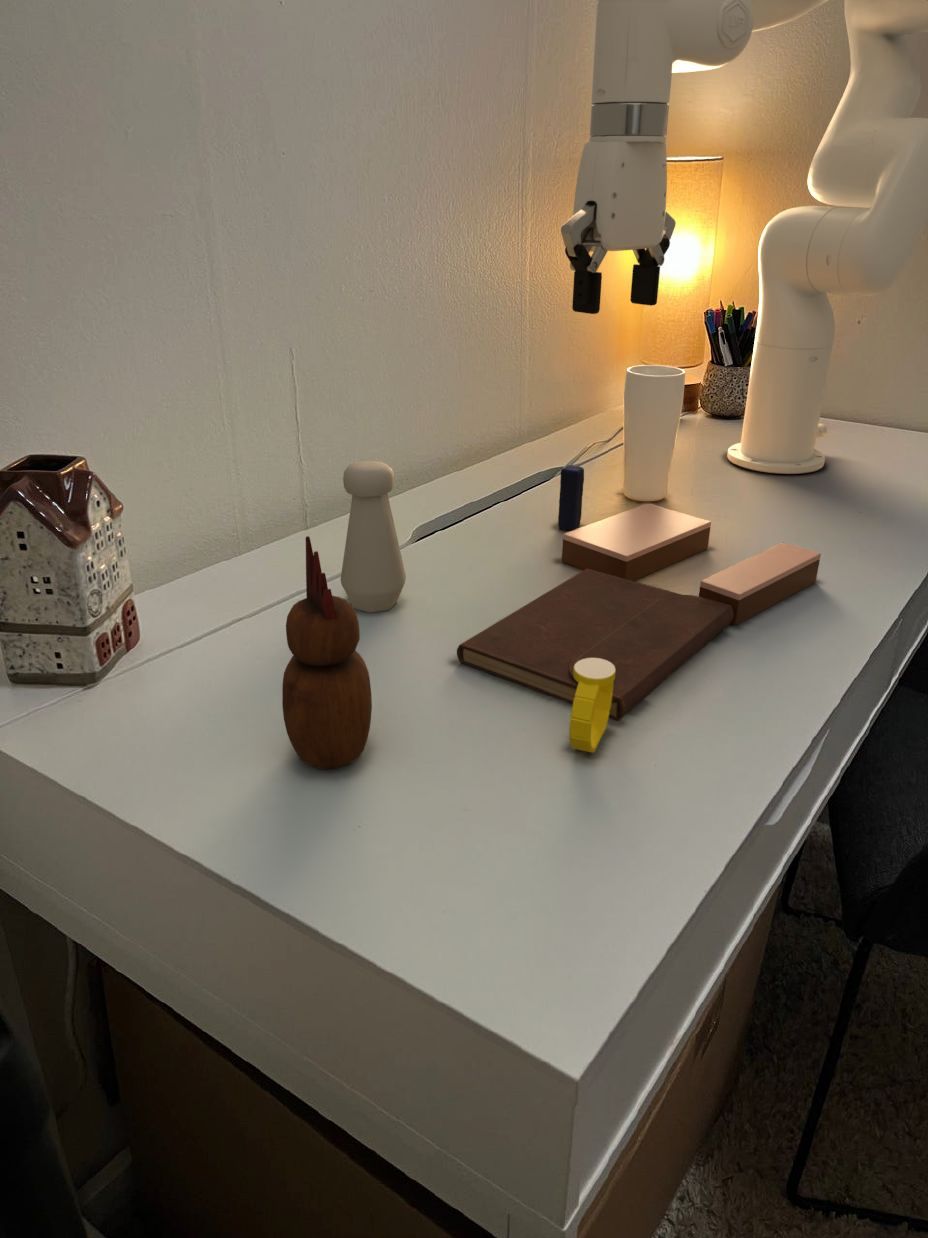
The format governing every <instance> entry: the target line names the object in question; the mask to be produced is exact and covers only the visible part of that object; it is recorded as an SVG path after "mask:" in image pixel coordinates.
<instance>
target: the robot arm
mask: <svg viewBox="0 0 928 1238" xmlns="http://www.w3.org/2000/svg"><path fill="white" fill-rule="evenodd" d="M828 1H829V0H597V2H596V18H595V19H596V20H595V32H594V33H595V34H594V51H593V69H592V84H591V85H592V89H591V104H590V105H591V106H590V125H589V138H588V141H585V142H584V144H583V149H582V153H581V157H580V162H579V166H578V172H577V177H576V184H575V192H574V201H573V210H572V211H573V212H572V216H571V217H570V218H569V219H568V220H567V221H566V222H564V223H563V224H562V226H561V227H560V233H561V237H562V240H563V244H564V247H565V249H564V253H565V255H566V257H567V259H568V261H569V262H570V263H569V268H570V270H571V271H572V272H573V286H572V287H573V289H572V305H571V306H572V307H571V309H572V311H573V312H575V313H580V314H581V313H583V314H590V315H596V314H599V312H600V310H601V295H602V278H603V273H602V271H601V272H599V271H598V270H599V268H600V266H601V264H602V262H603V260H604V259H605V257H606V255H607V253H608V252H621V251H632V252H633V255H634V257H635V259H636V261H637V263H635V264H633V265H632V275H631V287H630V302H631V303H632V304H633V305H641V306H642V305H643V306H651V307H652V306H655V305H657V303H658V295H659V285H660V275H661V274H660V272H661V266H663V265H664V263H665V255H666V253H667V252H668V250H669V248H670V246H671V239H672V236H673V233H674V232H675V231H674V230H675V228H676V225H677V224H676V222H677V221H676V220H675V218H674V217H672V216H671V215H670V213H668V212H667V195H668V194H667V193H668V191H667V190H668V185H667V184H668V162H667V161H668V159H667V158H668V157H667V144H666V143H667V133H668V123H669V121H668V120H669V110H670V105H669V104H670V101H671V100H670V99H671V87H672V76H673V74H674V73H675V74H676V73H692V72H701V71H710V70H715V69H719V68H722V67H724V66H726V65H728V64H730V63H731V62H733V61H734V60H735V59H737V58H738V57H739V56H740V55H741V53H743V51H744V50H745V49H746V47H747V45H748V44H749V41H750V39H751V36H752V33H753V32H759V31H763V30H768V29H771V28H774V27H777V26H781V25H783V24H787V23H790V22H792V21H795V20H798V19H799V18H801V17H803V16H804V15H807V14H808V13H809V12H810V11H811V12H812V11H813V10H815V9H817V8H818V7H820V6H821V5H824V4H825V3H827V2H828ZM843 5H844V6H843V10H844V11H843V12H844V19H845V20H844V21H845V26H846V31H847V38H848V45H849V55H850V71H849V72H850V73H849V77H848V81H847V84H846V87H845V89H844V91H843V94H842V96H841V98H840V101H839V103H838V105H837V107H836V109H835V111H834V113H833V116H832V117H831V120H830V121H829V123H828V126H827V128H826V130H825V132H824V134H823V136H822V139H821V140H820V143H819V145H818V147H817V149H816V151H815V153H814V155H813V157H812V160H811V162H810V166H809V169H808V173H807V188H808V190H809V193H810V194H811V196H812V197H813V198H814V199H815V200H816V201H818V202H821V203H823V204H825V206H824V205H803V206H795V207H791V208H788V209H784V210H783V211H781V212H779V213H778V214H776V215H775V216H773V217H772V219H770V220H769V222H767V224H766V226H765V228H764V229H763V231H762V234H761V236H760V240H759V244H758V252H757V253H758V254H757V255H758V256H757V260H758V261H757V262H758V279H759V298H758V299H759V301H758V302H759V303H758V313H757V322H756V328H755V329H756V330H755V336H754V337H755V338H754V344H753V352H752V356H751V357H752V358H751V365H750V373H749V378H748V379H749V380H748V387H747V394H746V402H745V409H744V416H743V424H742V431H741V438H740V442H737V443H735V444H732V445H731V446H730V447H729V448H727V449H728V450H727V453H726V455H727V456H726V458H727V459H728V461H729V462H731V463H732V464H734V465H736V466H739V467H742V468H744V469H747V470H751V471H756V472H761V473H762V472H763V473H769V474H781V475H782V474H783V475H797V474H808V473H813V472H816V471H819V470H821V469H822V468H823V467H824V466H825V461H826V456H825V455H824V454H823V453H822V452H821V451H819V450H817V449H815V448H816V441H817V440H818V439H821V438H824V437H826V435H827V433H828V429H827V426H826V425H825V424H824V423H820V420H821V413H822V407H823V402H824V395H825V390H826V385H827V379H828V374H829V368H830V362H831V355H832V350H833V345H834V340H835V331H836V322H835V316H834V312H833V309H832V305H831V302H830V300H829V297H828V294H835V295H843V296H853V297H875V296H878V295H881V294H883V293H885V292H886V291H888V290H889V289H890V288H891V287H892V286H893V285H894V284H895V283H896V282H897V280H898V278H899V277H900V276H901V274H902V272H903V271H904V269H905V268H906V265H907V263H908V261H909V260H910V257H911V256H912V254H913V251H914V250H915V247H916V245H917V244H918V242H919V240H920V238H921V236H922V234H923V232H924V230H925V228H926V226H927V224H928V118H927V117H912V115H913V113H914V111H915V109H916V107H917V104H918V102H919V99H920V95H921V91H922V80H921V74H920V70H919V67H918V65H917V63H916V60H915V58H914V57H913V54H912V52H911V50H910V47H909V44H908V41H907V38H906V35H914V34H923V33H928V0H844V4H843ZM828 205H830V206H828ZM591 252H592V254H591V255H590V253H591Z"/></svg>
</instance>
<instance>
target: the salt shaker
mask: <svg viewBox="0 0 928 1238" xmlns="http://www.w3.org/2000/svg"><path fill="white" fill-rule="evenodd" d="M342 476H343V477H342V483H343V488H344V490H345V492H346V493H347V494H349V495H350V496H351V502H350V509H349V510H350V511H349V516H348V523H347V524H348V525H347V531H346V537H345V545H344V551H343V552H344V553H343V560H342V567H341V574H340V584H341V587H342V588H343V591H344V592H345V594H346V596H347V598H348V600H349V603H350V604H351V606H352V607H353V608H354V610H357V611H358V610H359V611H362V612H365V613H369V614H371V613H378V612H384V611H385V612H386V611H390V610H391V609H392V608H393V607H394V605H396V603H398V600H399V599H400V596H401V593H402V591H403V589H404V586H405V584H406V579H407V575H406V572H405V565H404V561H403V557H402V553H401V548H400V544H399V539H398V535H397V529H396V527H395V522H394V521H395V520H394V516H393V512H392V507H391V504H390V503H391V502H390V499H389V493H391V492H392V490H393V489H394V486H395V474H394V470H393V469H392V468H391V467H390V466H389V465H388V464H387V463H385V462H381V461H378V460H377V461H376V460H361V461H356V462H352V463H350V464H349V465H348V466H347V467H346V468H345V469H344V470H343V475H342Z"/></svg>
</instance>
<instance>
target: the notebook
mask: <svg viewBox="0 0 928 1238" xmlns="http://www.w3.org/2000/svg"><path fill="white" fill-rule="evenodd" d="M733 616H734V613H733V609H732V606H731V605H728V604H725V603H721V602H718V601H714V600H711V599H707V598H703V597H699V595H692V594H681V593H678V592H674V591H671V590H668V589H664V588H659V587H656V586H653V585H649V584H646V583H642V582H639V581H636V580H635V581H631V580H627V579H624V578H620V577H616V576H613V575H609V574H606V573H602V572H598V571H595V570H591V569H585V570H583V569H582V571H580V572H579V573H577V574H575V575H573V576H571V577H570V578H568V579H566V580H565V581H563V582H562V583H560V584H558V585H557V586H555V587H553V588H552V589H549V590H548V591H547V592H545V593H543V594H541V595H540V596H538V597H537V598H535V599H533V600H531V601H530V602H529V603H527V604H525V605H523V606H522V607H520V608H518V609H517V610H515V611H514V612H512V613H510V614H509V615H506V616H505V617H503V618H502V619H500V620H498V621H496V622H495V623H494V624H491V625H490V626H488V627H487V628H485V629H483V630H481V631H480V632H478V633H476V634H475V635H473V636H471V637H470V638H468V639H467V640H465V641H463V642H462V643H460V644H459V645H458V647H457V648H456V657H457V659H458V662H460V663H461V664H463V665H466V666H469V667H471V668H475V669H478V670H480V671H483V672H485V673H488V674H491V675H494V676H496V677H499V678H502V679H505V680H506V681H510V682H512V683H514V684H517V685H520V686H523V687H526V688H528V689H531V690H534V691H535V692H539V693H542V694H544V695H546V696H550V697H552V698H556V699H558V700H561V701H564V702H566V703H569V704H571V705H573V701H574V698H575V693H576V689H577V686H578V682H577V681H576V680H575V679H574V676H573V668H574V665H575V664H576V663H577V662H578V661H580V660H582V659H586V658H601V659H604V660H607V661H609V662H611V663H612V664H613V665H614V666H615V670H616V671H615V679H614V683H613V696H612V703H611V709H610V714H609V718H608V719H612V720H614V721H617V722H619V721H620V720H621V719H622V718H624V717H625V716H626V715H627V714H628V713H629V712H630V711H631V710H633V709H634V708H635V707H636V706H637V705H638V704H640V703H641V702H642V701H643V700H644V699H646V697H648V696H649V695H650V694H651V693H652V692H653V691H655V690H656V689H657V688H658V687H659V686H660V685H662V683H664V682H665V681H666V680H667V679H668V678H669V677H671V676H672V675H673V674H674V673H675V672H676V671H678V669H680V668H681V667H682V666H683V665H684V664H685V663H686V662H688V661H689V660H690V659H691V658H692V657H694V656H695V655H696V654H697V653H698V652H699V651H700V650H702V648H704V647H705V646H706V645H707V644H708V643H710V642H711V641H712V640H713V639H714V638H715V637H716V636H718V635H719V634H720V633H721V632H722V631H723V630H724V629H726V628H727V627H728V626H729V625H731V624H730V622H731V621H732V619H733Z"/></svg>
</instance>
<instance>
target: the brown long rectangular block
mask: <svg viewBox="0 0 928 1238" xmlns="http://www.w3.org/2000/svg"><path fill="white" fill-rule="evenodd" d="M821 555H822V553H821V552H817V551H814V550H810V549H807V548H804V547H801V546H797V545H794V544H791V543H787V542H781V543H778V544H776V545H774V546H772V547H770V548H768V549H766V550H763V551H761V552H759V553H757V554H754V555H752V556H751V557H748V558H746V559H744V560H741V561H739V562H738V563H736V564H733V565H731V566H729V567H727V568H725V569H722V570H721V571H719V572H716V573H714V574H712V575H710V576H708V577H705V578H703V579H702V580H701V579H700V582H699V590H698V596H699V597H703V598H707V599H711V600H714V601H718V602H721V603H725V604H728V605H731V606H732V609H733V613H734V616H733V619H732V621H731V622H730V624H729V625H733V626H737V625H739V624H741V623H743V622H744V621H747V620H749V619H750V618H752V617H754V616H755V615H758V614H759V613H762V612H764V611H765V610H767V609H769V608H770V607H772V606H774V605H776V604H778V603H780V602H781V601H784V600H785V599H787V598H789V597H791V596H793V595H794V594H796V593H799V592H800V591H802V590H804V589H806V588H807V587H809V586H811V585H813V584H815V583H817V578H818V577H817V576H818V572H819V567H820V561H821Z"/></svg>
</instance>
